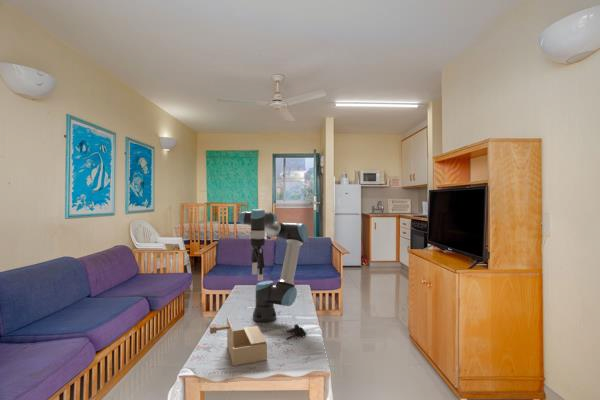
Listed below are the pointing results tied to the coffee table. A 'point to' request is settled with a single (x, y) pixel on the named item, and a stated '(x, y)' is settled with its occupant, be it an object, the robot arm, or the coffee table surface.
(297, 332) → the stuffed animal
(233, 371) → the coffee table surface
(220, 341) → the coffee table surface
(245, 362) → the carton
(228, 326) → the flap outer
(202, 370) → the coffee table surface
